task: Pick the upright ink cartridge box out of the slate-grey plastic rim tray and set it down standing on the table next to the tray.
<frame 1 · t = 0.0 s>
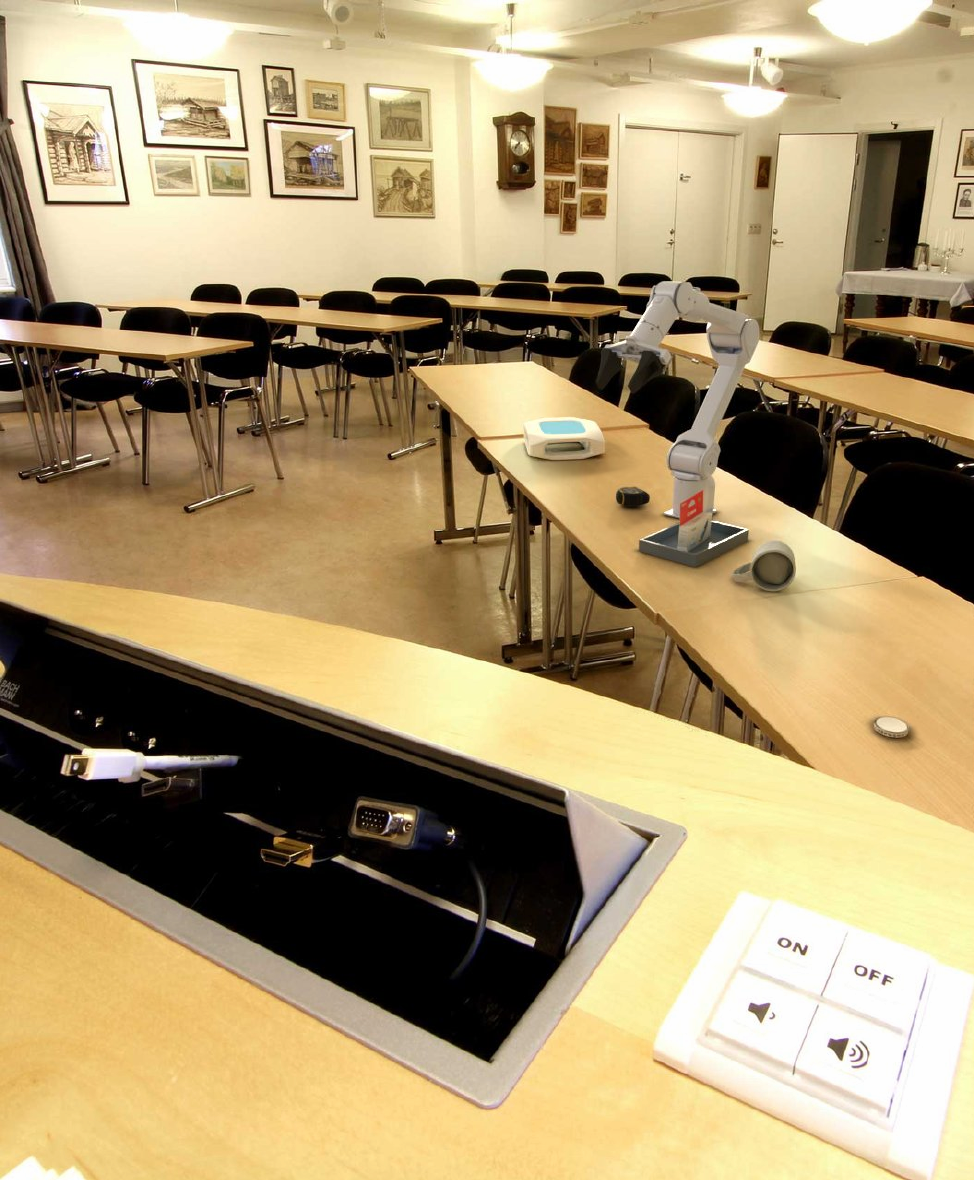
hand: (614, 388, 158), 32 cm above the table, tool tilted 50°, fingers open, 7 cm apart
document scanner: (562, 448, 248), on the table
tray: (693, 546, 170), on the table
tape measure: (632, 505, 196), on the table
ink cartridge box: (693, 544, 170), resting on tray
ceramic mug: (763, 584, 152), on the table
bottle cap: (890, 729, 108), on the table
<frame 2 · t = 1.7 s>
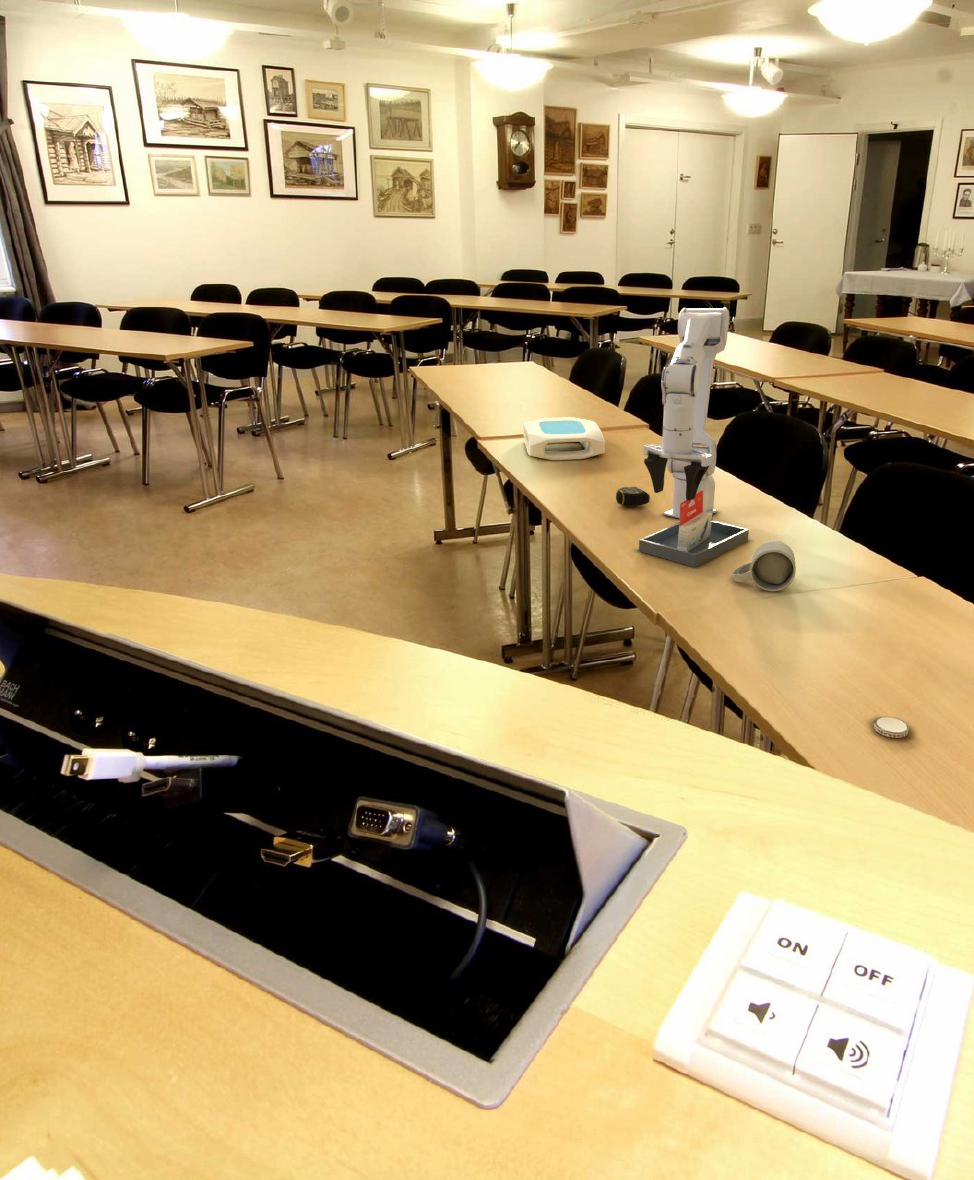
hand: (674, 495, 167), 10 cm above the table, tool pointing down, fingers open, 7 cm apart
nothing on the table moved.
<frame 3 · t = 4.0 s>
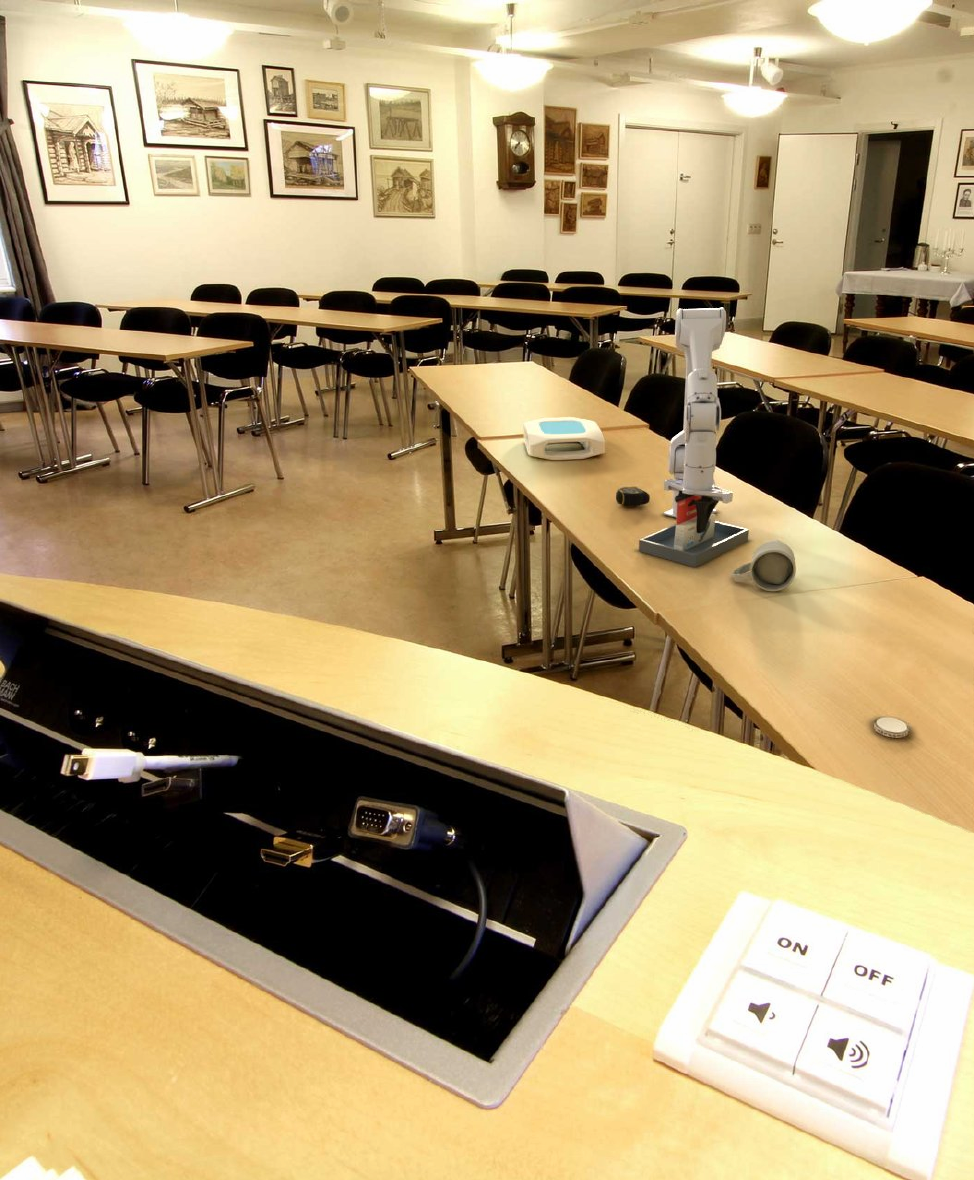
hand: (694, 530, 169), 3 cm above the table, tool pointing down, fingers closed on ink cartridge box, 2 cm apart
ink cartridge box: (693, 544, 170), resting on tray, touching gripper
everything else where it was.
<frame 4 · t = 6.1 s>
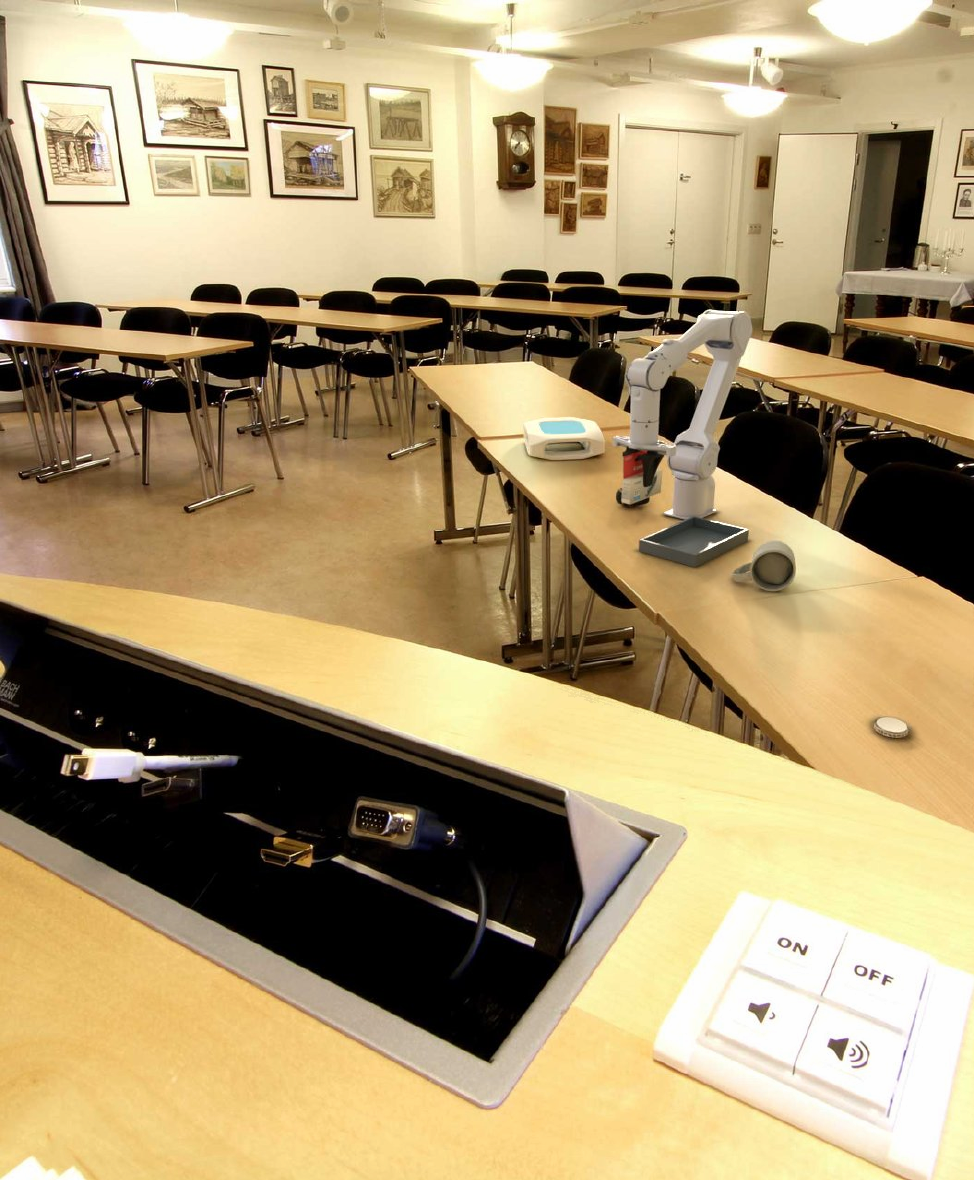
hand: (642, 484, 175), 10 cm above the table, tool pointing down, fingers closed on ink cartridge box, 2 cm apart
ink cartridge box: (641, 498, 176), point 7 cm above the table, touching gripper
everything else where it was.
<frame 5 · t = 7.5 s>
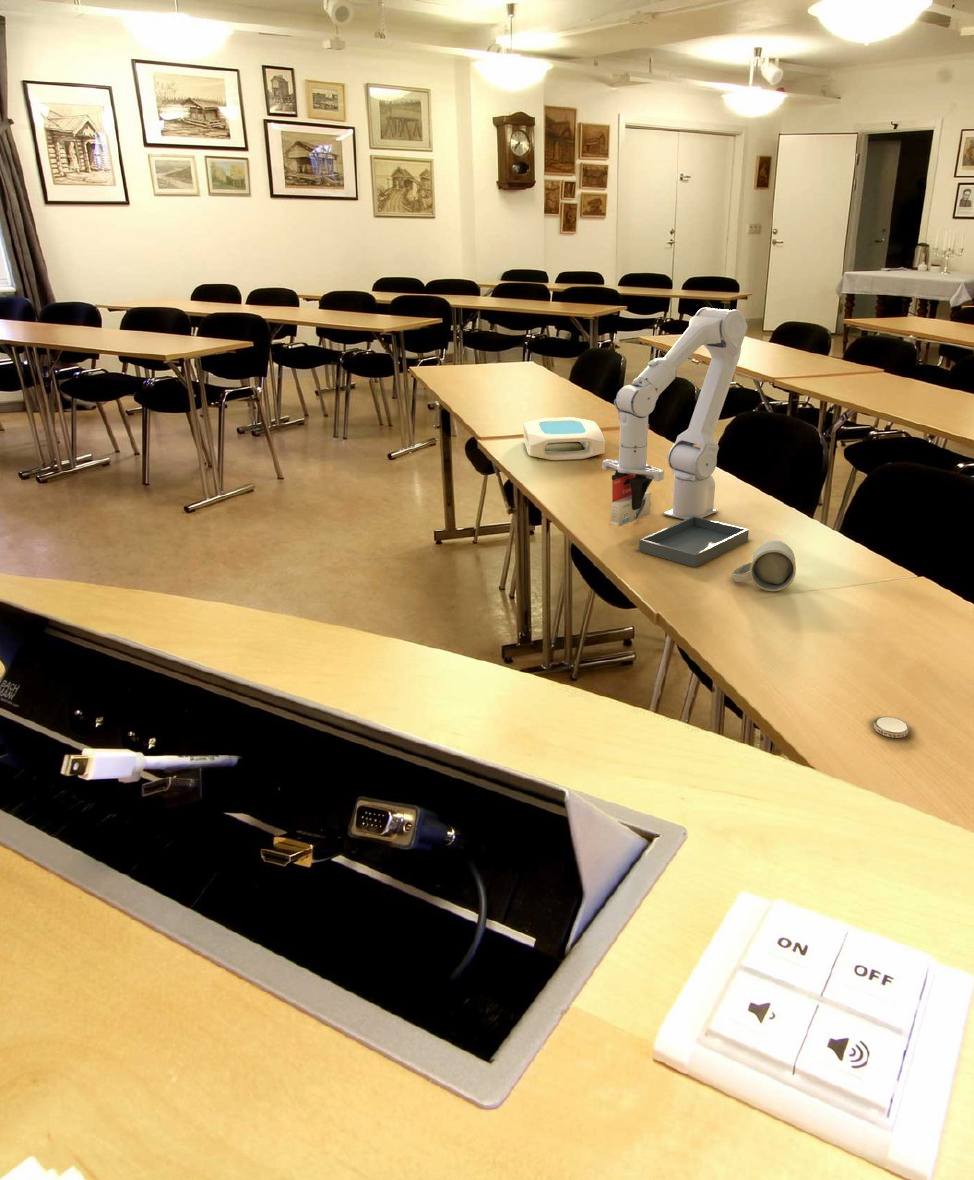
hand: (631, 507, 179), 5 cm above the table, tool pointing down, fingers closed on ink cartridge box, 2 cm apart
ink cartridge box: (630, 520, 180), point 2 cm above the table, touching gripper
everything else where it was.
when the fingers open (3 cm above the table, at t = 8.4 s): ink cartridge box stays where it is, on the table.
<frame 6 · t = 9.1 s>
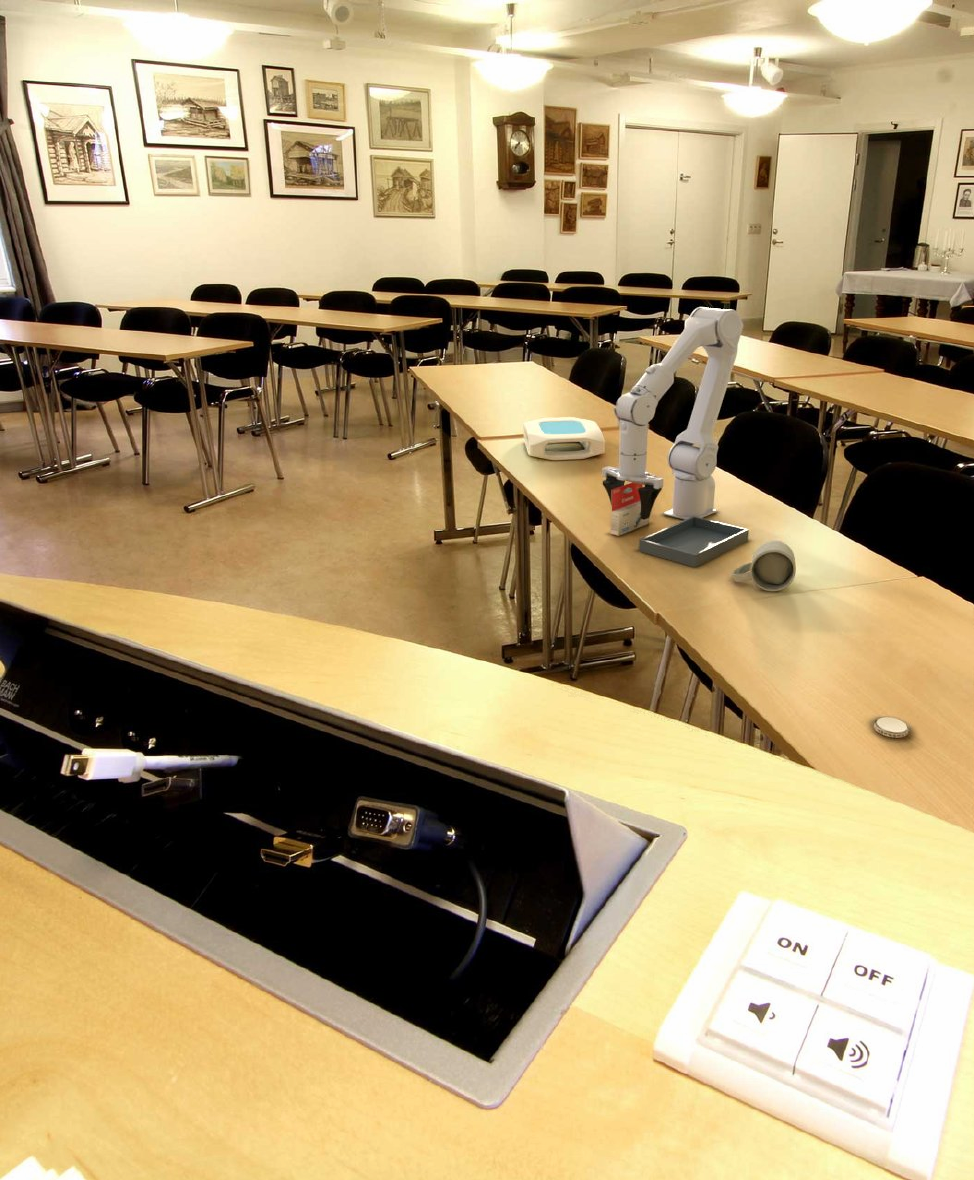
hand: (630, 514, 180), 3 cm above the table, tool pointing down, fingers open, 7 cm apart
ink cartridge box: (630, 529, 181), on the table
everything else where it was.
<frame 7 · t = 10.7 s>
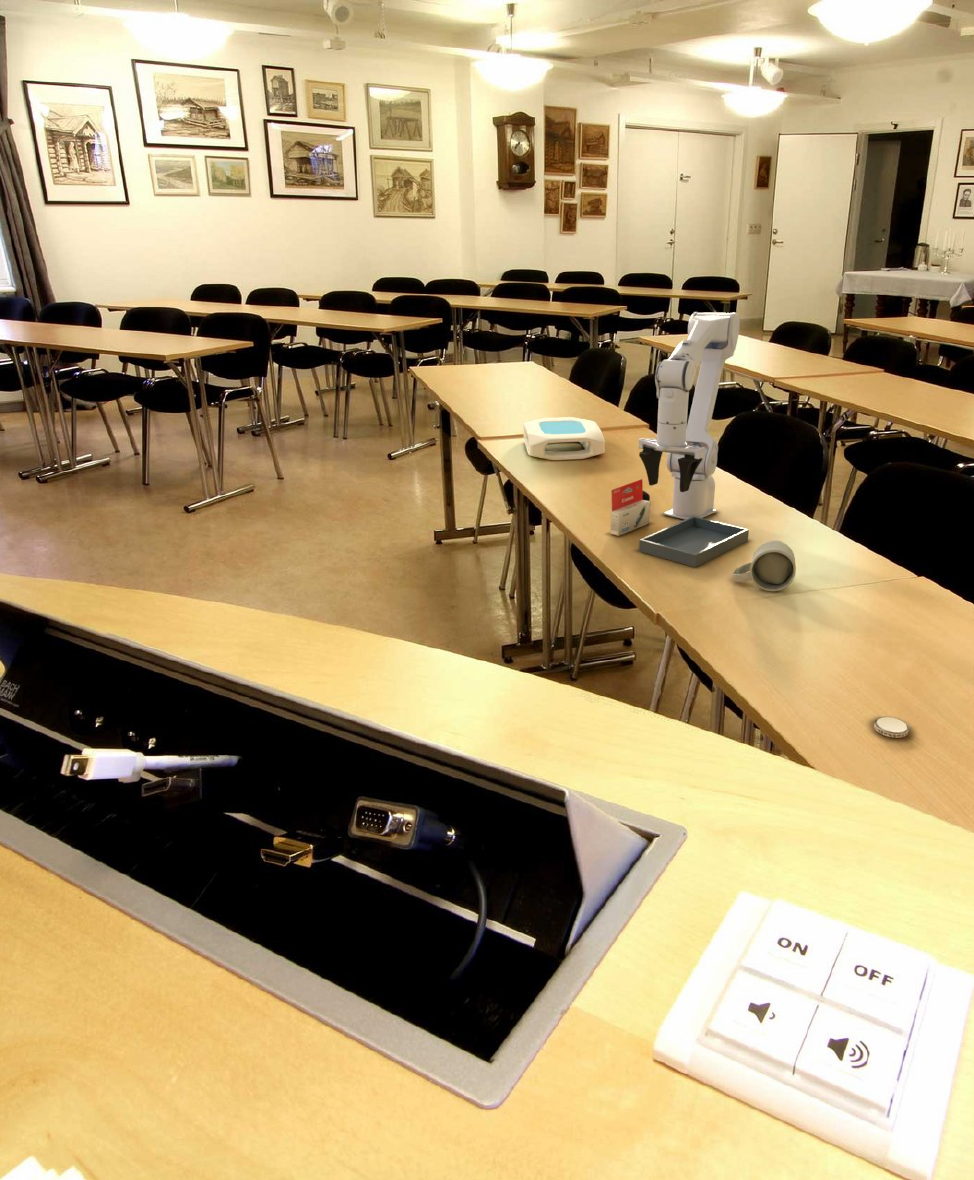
hand: (668, 487, 172), 10 cm above the table, tool pointing down, fingers open, 7 cm apart
nothing on the table moved.
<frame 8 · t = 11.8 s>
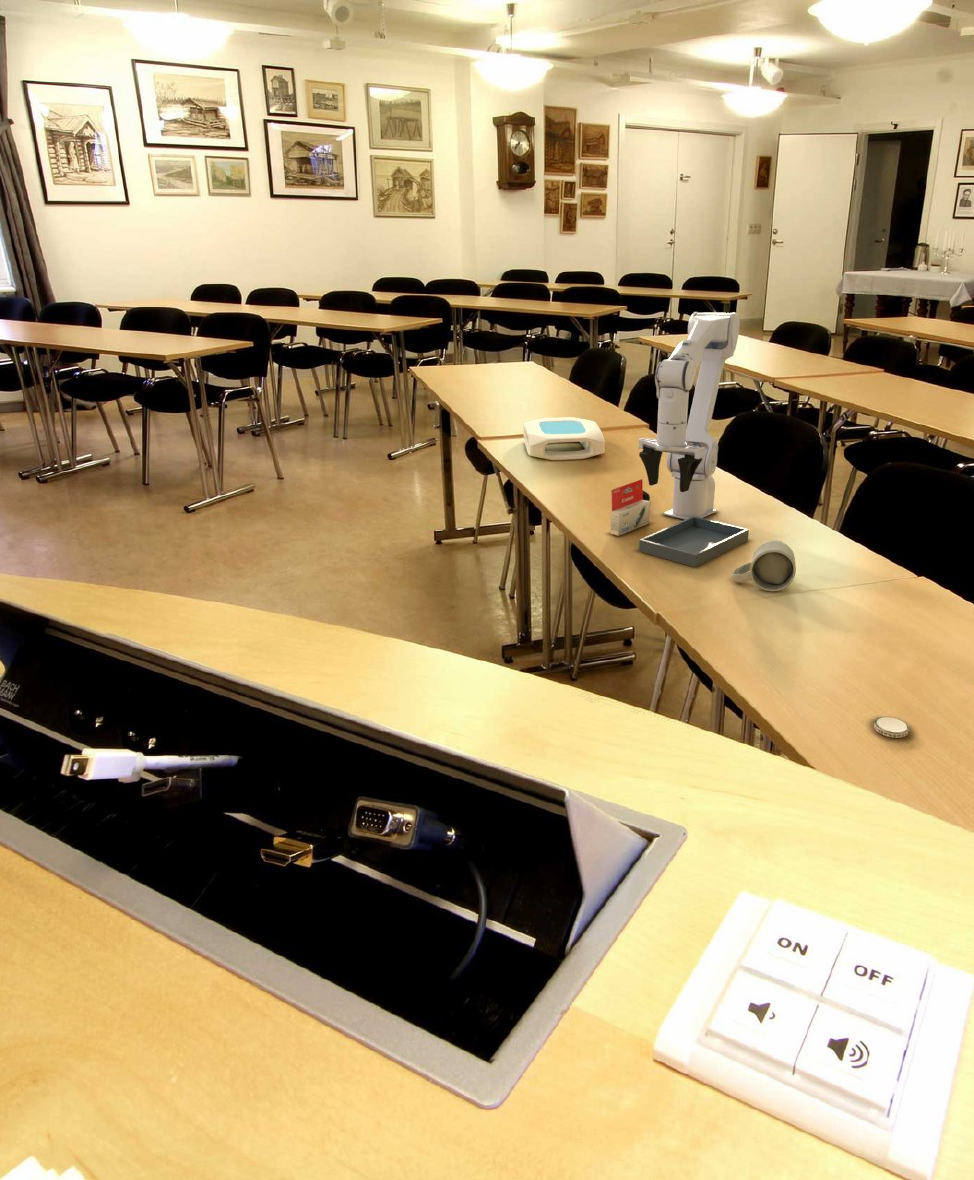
hand: (668, 487, 172), 10 cm above the table, tool pointing down, fingers open, 7 cm apart
nothing on the table moved.
at the end: ink cartridge box inside the target area (0.1 cm from its centre), on the table; ink cartridge box touching table; ink cartridge box tilted 0° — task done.
